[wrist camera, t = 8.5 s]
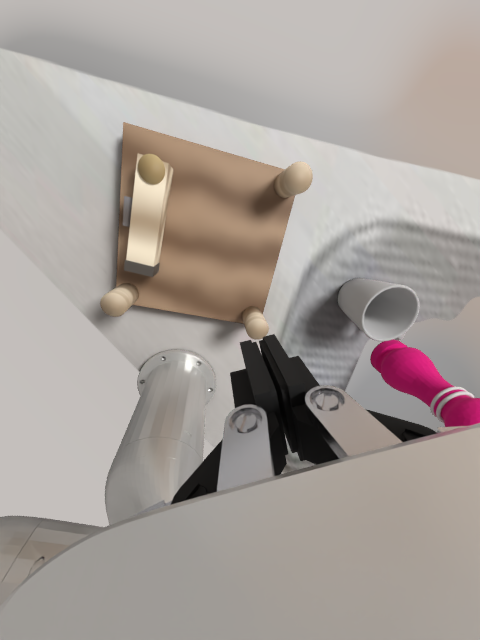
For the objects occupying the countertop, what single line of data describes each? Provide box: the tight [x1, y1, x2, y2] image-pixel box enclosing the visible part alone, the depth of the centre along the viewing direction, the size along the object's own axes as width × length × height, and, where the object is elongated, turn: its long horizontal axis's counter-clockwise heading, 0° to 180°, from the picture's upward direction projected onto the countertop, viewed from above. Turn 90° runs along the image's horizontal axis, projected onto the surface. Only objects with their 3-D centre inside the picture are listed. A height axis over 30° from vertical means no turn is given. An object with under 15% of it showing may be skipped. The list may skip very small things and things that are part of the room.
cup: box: [338, 278, 419, 341], centre depth 35 cm, size 8×10×8 cm
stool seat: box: [100, 122, 312, 339], centre depth 29 cm, size 20×20×8 cm
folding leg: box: [124, 153, 173, 277], centre depth 27 cm, size 12×3×3 cm, turn 165°
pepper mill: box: [370, 340, 480, 427], centre depth 34 cm, size 7×7×20 cm
